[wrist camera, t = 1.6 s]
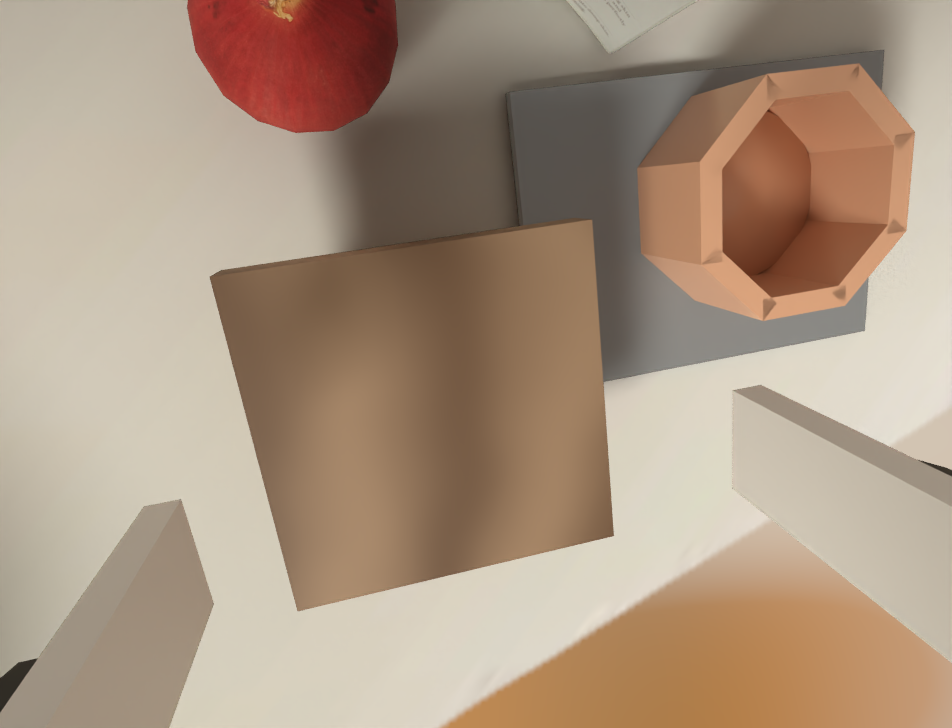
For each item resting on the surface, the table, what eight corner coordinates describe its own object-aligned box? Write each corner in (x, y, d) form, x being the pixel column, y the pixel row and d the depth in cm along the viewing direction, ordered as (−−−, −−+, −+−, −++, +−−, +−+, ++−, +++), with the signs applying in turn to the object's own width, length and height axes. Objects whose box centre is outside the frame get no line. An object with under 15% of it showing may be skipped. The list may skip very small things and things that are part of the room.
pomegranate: (237, -70, 19) (163, -239, 12) (407, -4, 21) (438, -117, 13) (206, 113, 21) (121, 64, 13) (368, 162, 22) (377, 145, 15)
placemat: (536, 389, 26) (540, 394, 25) (506, 94, 22) (509, 91, 22) (854, 328, 28) (864, 330, 28) (872, 53, 25) (884, 49, 24)
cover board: (301, 582, 21) (297, 611, 19) (221, 270, 17) (209, 276, 16) (597, 514, 22) (613, 535, 21) (574, 217, 19) (592, 219, 18)
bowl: (643, 309, 25) (702, 332, 21) (634, 103, 23) (698, 81, 19) (813, 279, 27) (900, 295, 22) (821, 81, 24) (921, 56, 20)
